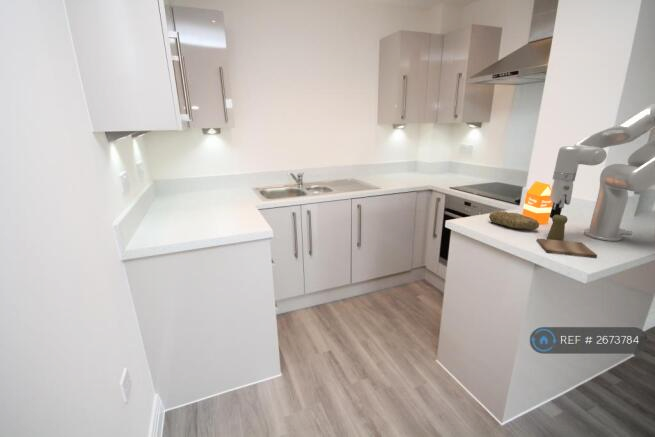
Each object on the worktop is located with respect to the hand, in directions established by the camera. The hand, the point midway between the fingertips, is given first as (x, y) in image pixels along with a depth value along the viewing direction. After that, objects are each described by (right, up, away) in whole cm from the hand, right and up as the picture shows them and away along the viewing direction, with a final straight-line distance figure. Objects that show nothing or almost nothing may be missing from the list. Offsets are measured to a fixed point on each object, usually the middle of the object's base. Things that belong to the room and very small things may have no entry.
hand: (554, 218), depth 134 cm
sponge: (-10, -4, +15) cm, 18 cm away
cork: (-2, -10, -2) cm, 10 cm away
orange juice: (+6, -2, +22) cm, 22 cm away
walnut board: (-5, -12, -12) cm, 18 cm away
